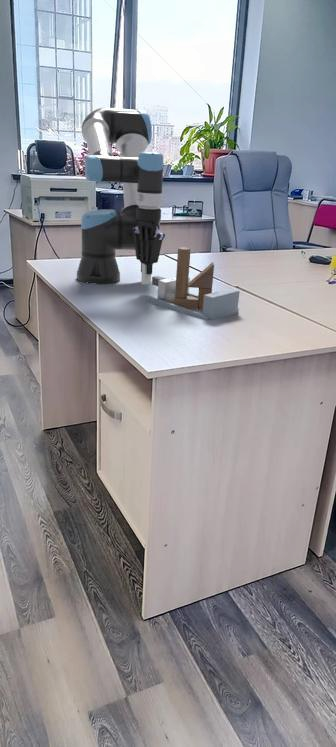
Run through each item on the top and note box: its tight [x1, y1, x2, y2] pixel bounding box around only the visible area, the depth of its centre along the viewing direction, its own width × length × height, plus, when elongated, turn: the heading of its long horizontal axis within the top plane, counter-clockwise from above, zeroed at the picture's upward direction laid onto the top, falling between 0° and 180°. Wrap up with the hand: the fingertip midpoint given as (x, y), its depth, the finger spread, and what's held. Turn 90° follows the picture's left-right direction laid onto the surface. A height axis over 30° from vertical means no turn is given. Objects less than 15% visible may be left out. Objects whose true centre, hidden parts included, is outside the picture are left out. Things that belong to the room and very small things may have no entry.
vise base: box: [146, 288, 241, 321], centre depth 159 cm, size 25×14×8 cm, turn 45°
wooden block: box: [173, 246, 215, 311], centre depth 156 cm, size 4×11×18 cm, turn 91°
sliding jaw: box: [151, 275, 191, 304], centre depth 166 cm, size 10×11×7 cm
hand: (146, 283), depth 172 cm, fingers closed
